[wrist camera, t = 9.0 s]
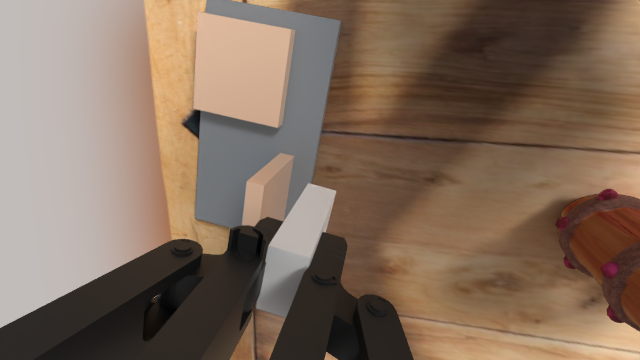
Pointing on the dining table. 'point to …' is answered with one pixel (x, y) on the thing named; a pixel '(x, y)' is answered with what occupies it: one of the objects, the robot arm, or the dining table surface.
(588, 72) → the dining table surface
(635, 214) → the mug
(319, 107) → the slate board
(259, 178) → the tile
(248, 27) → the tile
